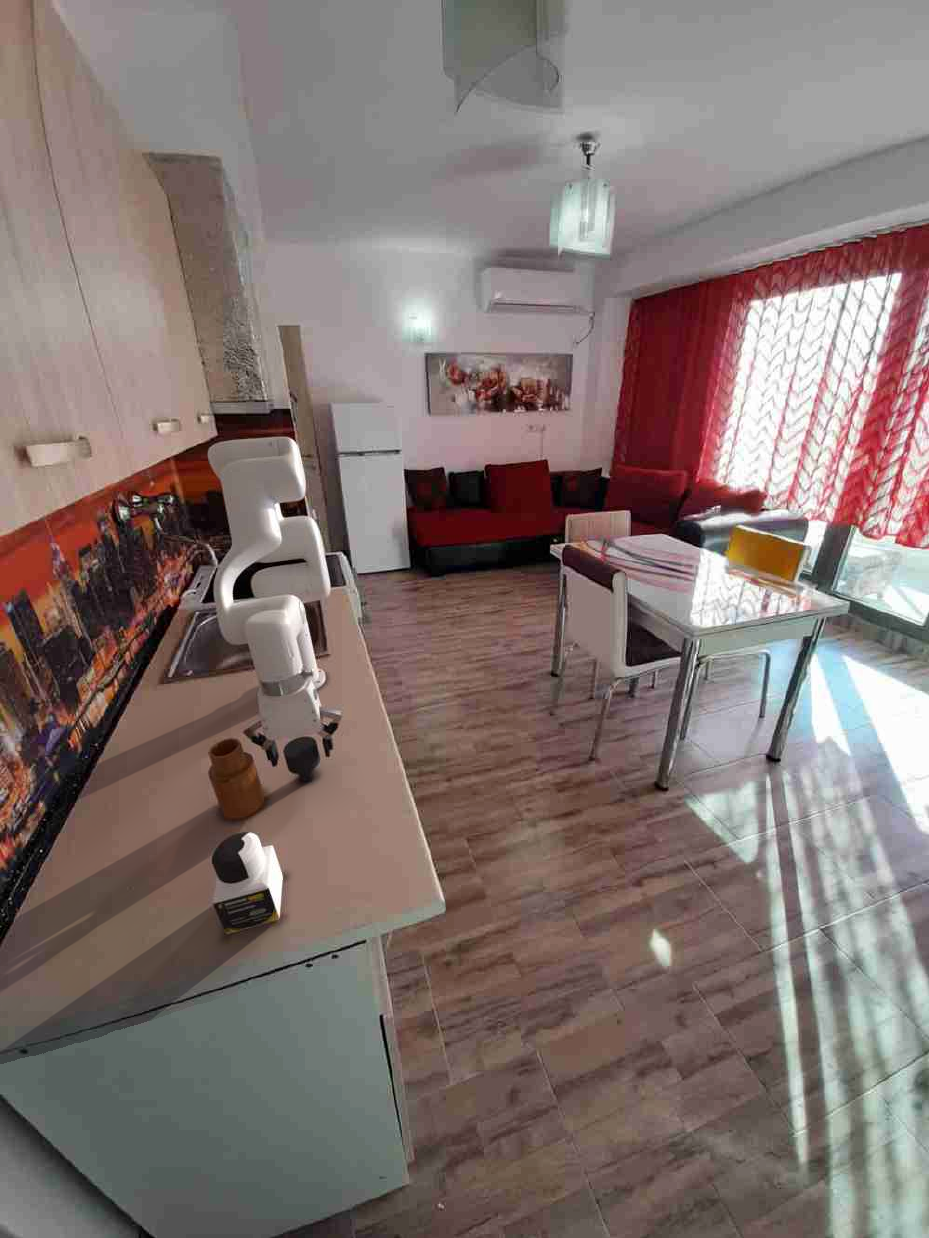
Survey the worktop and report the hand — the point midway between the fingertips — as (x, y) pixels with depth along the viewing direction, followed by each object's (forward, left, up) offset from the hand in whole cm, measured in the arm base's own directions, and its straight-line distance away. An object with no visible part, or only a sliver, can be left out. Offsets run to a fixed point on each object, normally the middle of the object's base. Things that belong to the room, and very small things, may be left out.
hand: (302, 756), depth 90 cm
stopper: (0, 0, -5) cm, 5 cm away
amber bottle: (+4, -11, -5) cm, 13 cm away
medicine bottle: (+25, -5, -5) cm, 26 cm away
